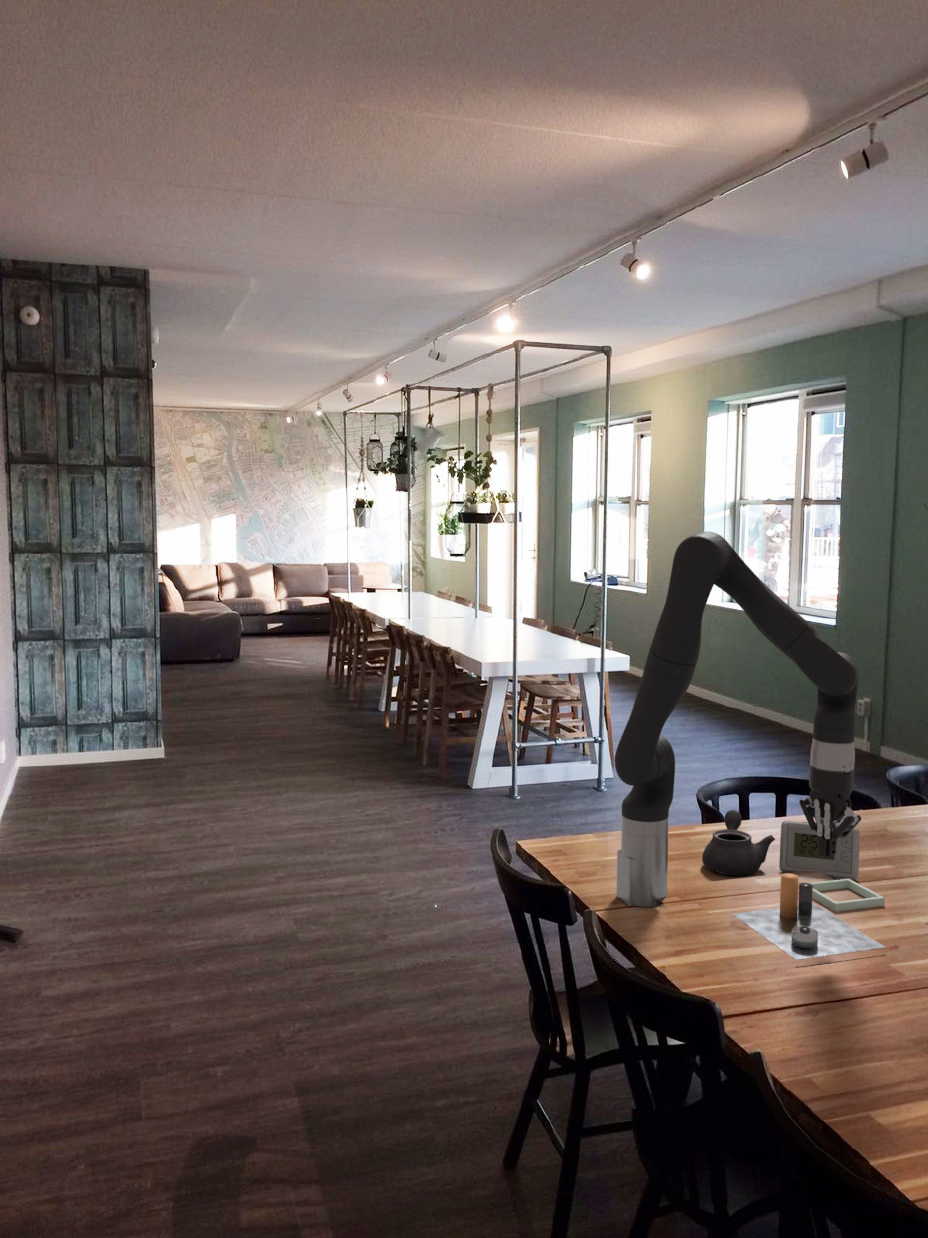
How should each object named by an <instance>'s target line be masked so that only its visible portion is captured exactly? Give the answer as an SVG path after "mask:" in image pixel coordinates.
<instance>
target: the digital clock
mask: <svg viewBox="0 0 928 1238" xmlns="http://www.w3.org/2000/svg"><path fill="white" fill-rule="evenodd" d="M832 831H833V828H832ZM860 834H861V833H860V829H859V828H858V827H856V826H855V827H854V829H853V830H852V831H851V832H850V833H849V834H848V835H847V836H846V837H842V838H838V839H837V843H836V854H835V856H834V857H833V858H829V859H826V858H823V857H821V856H820V853H819V850H818V848H819V836H818V834H817V832H816V831H815V830H811V828H810V826H809V824H808V821H792V820H784V821H782V822H781V825H780V843H779V844H780V846H779V863H778V864H779V865H778V866H779V870H780V872H783V873H785V874H786V873H789V874H794V873H801V872H802V873H803V872H808V871H809V872H810V871H812V872H813V871H814V872H820V873H822V874H823V875H825V876H828V877H829V878H831V879H832V880H839V879H851V880H853V881H854V880H858V878H859V874H860V873H859V872H860V871H859V870H860V869H859V867H860V839H861V838H860Z"/></svg>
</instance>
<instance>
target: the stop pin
mask: <svg viewBox="0 0 928 1238" xmlns="http://www.w3.org/2000/svg"><path fill="white" fill-rule="evenodd" d="M799 878H800V877H799V875H797V874H795V873H786V872H785V873H782V874H780V888H779V889H780V890H779V891H780V892H779V893H780V894H779V895H780V897H779V898H780V899H779V908H780V915H781V916H782V917H786V918H796V917H797V914H798V903H799V884H800V883H799Z"/></svg>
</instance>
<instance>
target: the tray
mask: <svg viewBox="0 0 928 1238" xmlns="http://www.w3.org/2000/svg"><path fill="white" fill-rule="evenodd" d="M809 883H810V884H812V885H813V894H812V900H815V901H817V902H819V903H820V904H822V905H823V906H825V907H827V908H828V909H830V910H831V911H833V912H835V913H836V912H843V911H851V910H859V909H868V908H873V907H874V908H876V907H883V908H884V907H885V903H886V901H885V897H884V896H882V895H881V894H879V893H876V892H875V891H873V890H871V889H869V888H867V887H865V886H863V885H861V884H860V883H858V882H857V881H854V880H851V879H840V880H839V879H832V880H824V881H815V882H809ZM839 889H849V890H851V891H853V892H855V893H857V894H858V895H861V896H862V897H864V898H858V899H848V900H841V901H836V900H834V899H833V898H831V897H829V896H827V895H825V894H823V892H824V891H830V890H831V891H832V890H839Z"/></svg>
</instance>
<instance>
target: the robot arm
mask: <svg viewBox="0 0 928 1238" xmlns="http://www.w3.org/2000/svg"><path fill="white" fill-rule="evenodd" d="M714 586H716V587H717V588H719V589H721V590H722V591H723V592H724V593H726V594H727V595H728V596H729V597H731V599H733V600H734V601H735V603H737V605H738V606H739V607H740V608H741V609H742V610H743V612H744V613H745V614H746V616H747V617H748V618H749V620H750V621H751V622H752V624H753V625H754V626H755V628H756V629H757V630H758V631H759V632H760V633H761V634H762V635H763V636H764V637H765V638H766V639H767V640H768V641H769V642H770V643H771V644H772V645H773V646H774V647H776V648H777V649H778V650H779V651H780V652H781V653H783V654H784V655H785V657H788V658H789V659H790V660H792V662H793V663H794V664H795V665H796V666H797V667H798V669H800V671H801V672H802V673H803V674H804V676H806V677H807V679H809V680H810V681H811V683H812V684H813V685H814V686H816V687H817V697H816V698H817V705H816V709H815V711H814V717H813V731H812V742H811V747H810V760H809V761H810V762H809V775H808V785H809V786H808V787H809V788H810V789H811V790H810V792H809V796H808V797H806V798H801V799H800V800H799V806H800V809H802V812H803V814H804V817H805V818H806V822H808V824H809V826H810V828H811V830H815V831H816V832H817V834H818V836H819V848H818V850H819V853H820V856H821V857H823V858H826V859H829V858H833V857H834V856H835V854H836V843H837V839H838V838H842V837H846V836H847V835H848V834H849V833H850V832H851V831H852V830H853V829H854V827H855V828H856V827H857V825H858V824H859V823H860V822H861V821H862V817H861V815H860V814H855V812H854V811H853V809H852V803H851V797H850V796H851V794H852V792H853V790H854V776H855V774H854V773H855V761H856V760H855V758H856V750H855V749H856V748H855V737H856V735H855V732H856V715H855V710H856V709H855V708H856V704H857V703H856V702H857V701H856V700H857V694H858V686H859V677H860V673H859V672H860V671H859V667H858V664H857V662H856V660H855V658H853V657H852V656H851V655H849V654H847V653H844V652H839V651H836V650H835V649H834V648H833V647H832V646H831V645H830V644H829V643H827V642H826V641H825V640H824V639H823V638H822V636H821V634H820V633H819V631H818V630H817V629H816V628H815V627H814V626H813V625H812V624H811V623H810V622H809V621H808V620H806V619H805V618H804V617H803V616H802V615H800V614H799V612H797V611H796V610H794V609H793V608H792V607H791V606H790V605H788V604H787V602H785V601H784V600H783V599H782V598H781V597H780V596H778V595H777V594H776V593H775V592H774V591H773V590H772V589H770V587H769V586H768V585H766V583H764V581H762V580H761V578H759V576H757V575H756V573H755V572H754V571H752V569H751V568H750V567H749V566H748V565H747V564H746V563H745V561H744V560H743V559H742V558H741V556H740V555H739V554H738V553H737V551H736V550H735V549H734V548H733V547H732V546H731V545H730V542H728V541H727V540H726V539H725V538H724V536H722V535H721V534H719V533H717V532H713V531H707V530H706V531H701V532H697V533H695V534H691V535H690V536H688V537H686V538H684V539H683V540H682V541H681V542H680V544H678V546H677V548H676V550H675V553H674V556H673V560H672V566H671V572H670V578H669V583H668V588H667V589H668V590H667V594H666V599H665V603H664V606H663V609H662V612H661V614H660V616H659V619H658V622H657V626H656V628H655V632H654V635H653V638H652V640H651V643H650V647H649V650H648V654H647V657H646V659H645V665H644V668H643V672H642V676H641V680H640V682H639V686H638V689H637V693H636V696H635V699H634V703H633V707H632V710H631V713H630V716H629V717H628V720H627V723H626V725H625V727H624V730H623V733H622V734H621V737H620V739H619V742H618V744H617V747H616V749H615V754H614V768H615V772H616V774H617V776H618V778H619V779H620V780H621V782H622V783H624V784H625V785H627V786H632V788H631V790H630V792H629V793H628V794H627V796H625V797H624V798H623V800H622V803H621V836H620V837H621V843H620V845H621V847H620V848H621V849H618V850H617V851H616V896H617V898H619V899H620V900H621V901H622V902H624V904H626V905H627V906H629V907H641V908H642V907H643V908H652V907H658V906H662V905H664V903H663V901H661V899H664V898H666V897H667V896H668V866H669V863H668V861H669V860H668V859H669V818H670V817H669V816H670V815H669V813H670V807H671V805H672V803H673V800H674V790H675V777H676V776H675V775H676V757H675V752H674V749H673V747H672V744H671V743H670V741H669V740H668V739H667V738H666V737H665V736H664V735H661V733H662V730H663V728H664V726H665V724H666V722H667V720H668V718H669V717H670V716H671V714H672V713H673V712H674V710H675V708H677V705H679V704H680V702H681V701H682V700H683V697H684V695H686V693H687V691H688V689H689V687H690V685H691V683H692V679H693V677H694V674H695V672H696V671H695V670H696V668H697V664H698V660H699V658H700V651H701V647H702V646H701V645H702V628H703V627H702V624H703V622H702V621H703V617H704V612H705V608H706V606H707V602H708V599H709V597H710V595H711V592H712V590H713V587H714ZM832 828H833V831H832Z"/></svg>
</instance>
